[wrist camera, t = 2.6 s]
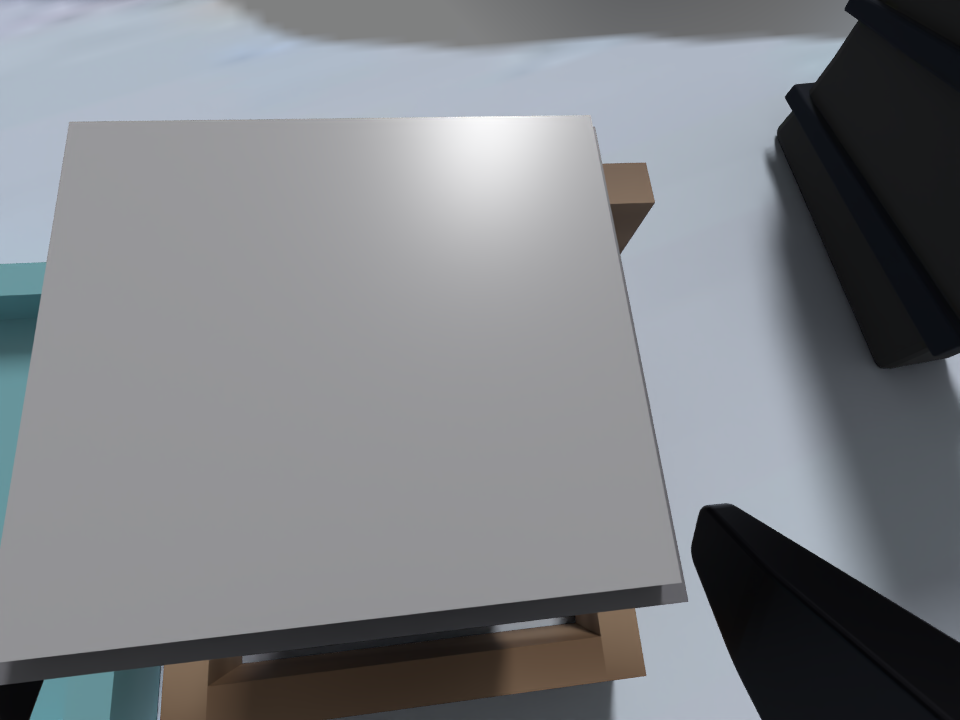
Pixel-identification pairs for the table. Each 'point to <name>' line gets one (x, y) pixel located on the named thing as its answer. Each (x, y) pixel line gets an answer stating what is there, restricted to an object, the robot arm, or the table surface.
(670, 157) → the table surface
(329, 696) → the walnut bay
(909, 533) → the table surface
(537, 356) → the grey lidded box
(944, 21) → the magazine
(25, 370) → the teal tray
